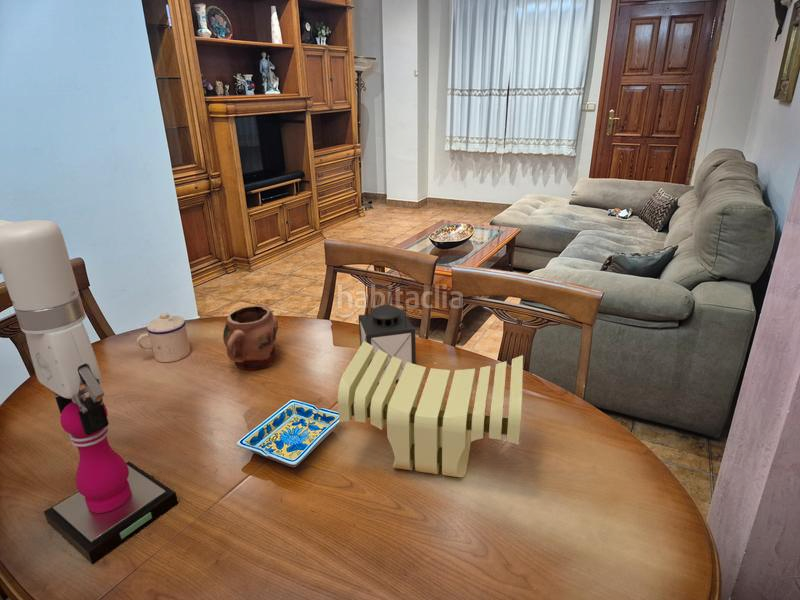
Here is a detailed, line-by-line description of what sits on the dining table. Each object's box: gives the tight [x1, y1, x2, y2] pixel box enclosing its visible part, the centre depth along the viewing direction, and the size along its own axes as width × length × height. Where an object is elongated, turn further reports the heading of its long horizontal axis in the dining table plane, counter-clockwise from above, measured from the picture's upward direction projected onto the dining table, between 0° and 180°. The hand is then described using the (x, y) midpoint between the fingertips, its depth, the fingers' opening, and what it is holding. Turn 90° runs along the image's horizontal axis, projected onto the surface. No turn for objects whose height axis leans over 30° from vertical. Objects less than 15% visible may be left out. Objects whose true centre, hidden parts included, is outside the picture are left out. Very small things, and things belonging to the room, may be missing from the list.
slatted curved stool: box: [337, 341, 524, 478], centre depth 92 cm, size 30×16×18 cm, turn 77°
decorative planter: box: [222, 304, 279, 371], centre depth 124 cm, size 20×12×14 cm, turn 174°
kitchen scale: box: [43, 461, 179, 565], centre depth 83 cm, size 14×14×3 cm
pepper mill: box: [59, 393, 131, 513], centre depth 78 cm, size 7×7×20 cm
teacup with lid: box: [136, 312, 191, 363], centre depth 130 cm, size 12×9×12 cm
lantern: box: [357, 260, 417, 387], centre depth 117 cm, size 11×11×28 cm
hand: (85, 421), depth 76 cm, fingers closed on pepper mill, 6 cm apart
